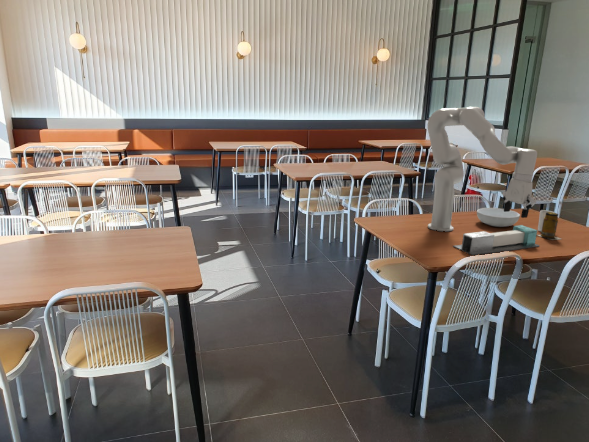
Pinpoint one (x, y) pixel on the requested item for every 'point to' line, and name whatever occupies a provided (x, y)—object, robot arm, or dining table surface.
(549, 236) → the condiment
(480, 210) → the serving bowl
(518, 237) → the white rectangular stick
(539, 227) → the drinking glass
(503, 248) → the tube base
